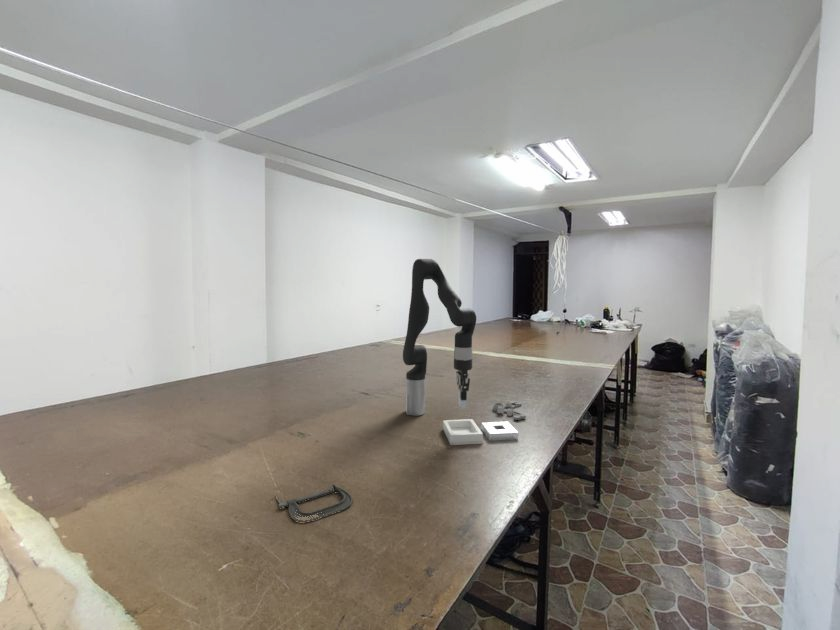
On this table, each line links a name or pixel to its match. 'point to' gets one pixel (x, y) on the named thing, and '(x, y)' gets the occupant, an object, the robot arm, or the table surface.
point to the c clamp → (326, 511)
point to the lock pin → (461, 402)
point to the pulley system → (500, 409)
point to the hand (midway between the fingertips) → (462, 398)
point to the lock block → (499, 431)
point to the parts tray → (462, 432)
